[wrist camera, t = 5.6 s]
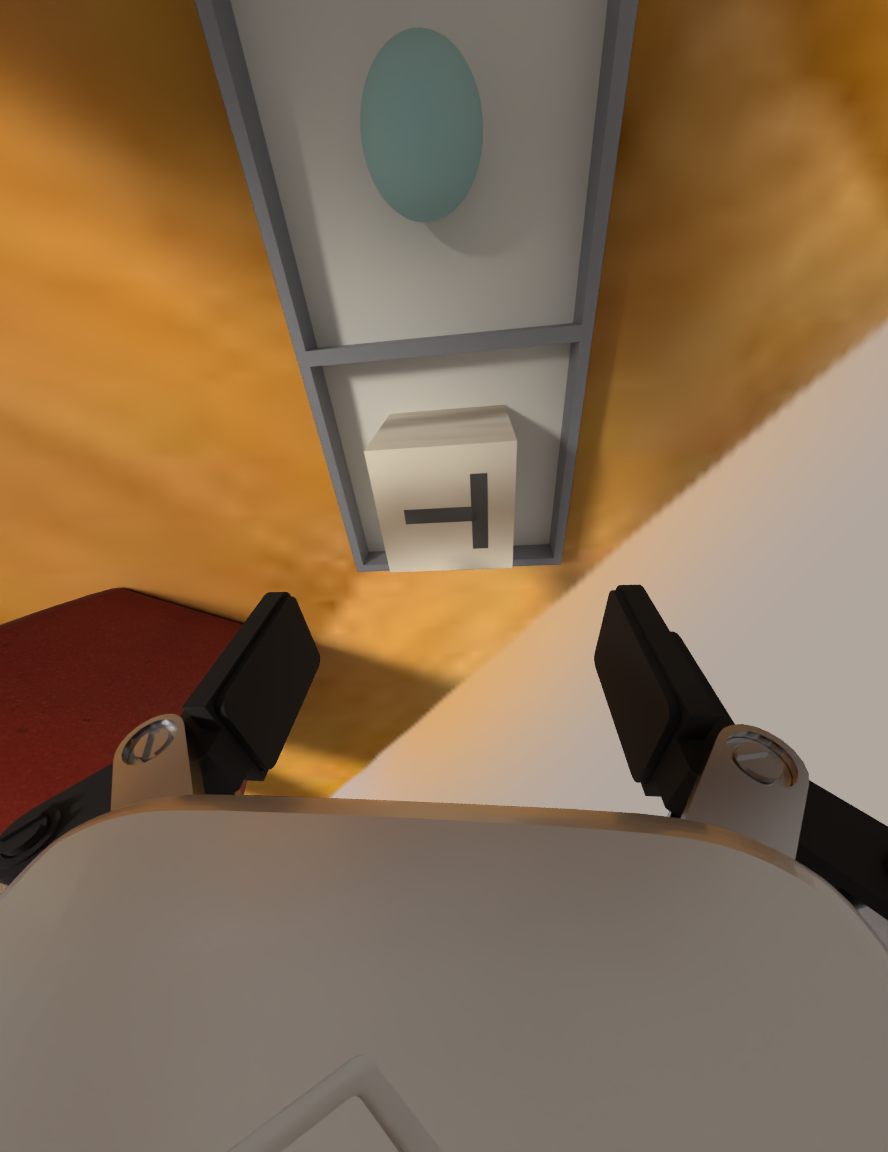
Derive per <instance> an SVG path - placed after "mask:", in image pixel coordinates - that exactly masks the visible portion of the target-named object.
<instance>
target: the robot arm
mask: <svg viewBox="0 0 888 1152" xmlns="http://www.w3.org/2000/svg"><path fill="white" fill-rule="evenodd" d="M594 661H595V667H596V670H597V673H598V676H599V679H600V682H601V685H602V688H603V691H604V694H605V697H606V700H607V703H608V706H609V709H610V712H611V715H612V718H613V721H614V724H615V727H616V730H617V733H618V736H619V739H620V742H621V745H622V748H623V751H624V753H625V757H626V760H627V763H628V766H629V769H630V772H631V775H632V777H633V779H634V781H635V782H641V784H642V787H643V790H644V793H645V795H646V796H660V797H662V800H663V803H664V805H665V808H667V809H668V810H669V813H668V816H667V817H664V816H655V815H646V814H637V813H622V812H607V811H592V810H577V809H559V808H539V807H518V806H497V805H477V804H455V803H432V802H409V801H386V800H364V799H339V798H313V797H287V796H260V795H241V791H240V787H241V785H242V783H243V781H244V779H245V780H252V781H264V779H265V777H266V774H267V772H268V770H269V769H272V768H273V767H274V766H275V764H276V762H277V760H278V758H279V755H280V753H281V751H282V749H283V746H284V744H285V742H286V740H287V737H288V735H289V733H290V731H291V728H292V726H293V724H294V721H295V719H296V717H297V715H298V712H299V710H300V708H301V706H302V703H303V701H304V699H305V697H306V694H307V692H308V690H309V688H310V685H311V683H312V681H313V678H314V676H315V674H316V672H317V669H318V667H319V664H320V655H319V652H318V650H317V648H316V645H315V643H314V640H313V638H312V636H311V633H310V631H309V629H308V626H307V624H306V622H305V619H304V617H303V614H302V612H301V610H300V607H299V605H298V603H297V600H296V599H295V598H294V597H291V595H290V594H289V593H288V592H269V593H267V594H266V595H265V596H264V597H263V598H262V600H261V601H260V602H259V604H258V605H257V606H256V608H255V609H254V610H253V612H252V613H251V614H250V616H249V617H248V619H247V620H246V621H245V623H244V624H243V625H242V627H241V628H240V629H239V631H238V632H237V633H236V635H235V636H234V637H233V639H232V640H231V641H230V643H229V644H228V645H227V647H226V648H225V650H224V651H223V652H222V654H221V655H220V656H219V658H218V659H217V660H216V662H215V663H214V664H213V666H212V667H211V668H210V670H209V671H208V672H207V674H206V675H205V677H204V678H203V679H202V681H201V682H200V683H199V685H198V686H197V687H196V689H195V690H194V691H193V693H192V694H191V695H190V697H189V698H188V699H187V701H186V702H185V703H184V705H183V706H182V708H183V709H184V711H183V713H182V714H181V715H180V717H179V716H178V715H176V714H164V715H159V716H156V717H154V718H151V719H149V720H147V721H146V722H144V723H142V724H141V725H139V726H138V727H136V728H135V729H134V730H133V731H131V732H130V733H129V734H128V735H127V736H126V737H125V738H124V740H123V741H122V742H121V743H120V745H119V747H118V748H117V750H116V752H115V755H114V759H113V763H111V764H110V765H108V766H106V767H104V768H103V769H101V770H99V771H98V772H96V773H94V774H92V775H91V776H89V777H87V778H85V779H84V780H82V781H80V782H78V783H77V784H75V785H73V786H71V787H70V788H68V789H66V790H64V791H63V792H61V793H59V794H57V795H56V796H54V797H52V798H50V799H49V800H47V801H45V802H43V803H42V804H40V805H38V806H36V807H35V808H33V809H31V810H30V811H28V812H27V813H25V814H24V815H22V816H21V817H19V818H18V819H17V820H16V821H15V822H13V823H12V824H11V825H10V826H9V827H8V828H6V829H5V831H4V832H3V833H2V834H1V835H0V1152H888V826H886V825H884V824H882V823H881V822H879V821H877V820H876V819H874V818H872V817H871V816H869V815H867V814H865V813H864V812H862V811H860V810H859V809H857V808H855V807H854V806H852V805H850V804H849V803H847V802H845V801H843V800H842V799H840V798H838V797H837V796H835V795H833V794H832V793H830V792H828V791H826V790H825V789H823V788H821V787H820V786H818V785H816V784H814V783H813V782H811V781H809V775H808V771H807V769H806V767H805V765H804V763H803V761H802V760H801V759H800V757H799V756H798V755H797V754H796V752H795V751H794V750H793V749H792V748H791V747H789V746H788V745H787V744H786V743H785V742H784V741H782V740H781V739H779V738H778V737H776V736H774V735H772V734H771V733H769V732H767V731H765V730H762V729H760V728H757V727H754V726H749V725H744V724H738V725H735V724H734V722H733V721H732V719H731V717H730V716H729V714H728V713H727V711H726V709H725V708H724V706H723V705H722V703H721V702H720V700H719V698H718V697H717V695H716V694H715V692H714V690H713V689H712V687H711V685H710V684H709V682H708V681H707V679H706V677H705V676H704V674H703V673H702V671H701V670H700V668H699V666H698V665H697V663H696V661H695V660H694V658H693V657H692V655H691V653H690V652H689V650H688V648H687V647H686V645H685V644H684V642H683V640H682V639H681V638H680V636H679V635H678V634H677V633H675V632H670V631H669V629H668V628H667V626H666V624H665V623H664V621H663V619H662V617H661V616H660V614H659V612H658V611H657V609H656V608H655V606H654V604H653V603H652V601H651V600H650V598H649V596H648V594H647V593H646V591H645V589H644V588H643V587H642V586H641V585H619V586H618V587H617V588H616V590H612V591H610V593H609V596H608V601H607V605H606V609H605V613H604V617H603V622H602V626H601V630H600V634H599V638H598V642H597V646H596V651H595V656H594Z"/></svg>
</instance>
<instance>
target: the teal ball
mask: <svg viewBox="0 0 888 1152" xmlns="http://www.w3.org/2000/svg"><path fill="white" fill-rule="evenodd" d="M360 131H361V140H362V147H363V152H364V157H365V160H366V164H367V167H368V170H369V173H370V175H371V178H372V180H373V182H374V184H375V186H376V188H377V189H378V191H379V193H380V194H381V196H382V197H383V198H384V200H385V201H386V202H387V203H388V205H389V206H391V207H392V208H393V209H394V210H395V211H396V212H397V213H399V214H400V215H402V216H404V217H405V218H407V219H410V220H413V221H416V222H433V221H437V220H439V219H442V218H444V217H445V216H447V215H449V214H450V213H451V212H452V211H453V210H455V209H456V208H457V207H458V205H459V204H460V203H461V202H462V201H463V199H464V198H465V196H466V195H467V193H468V191H469V189H470V188H471V186H472V183H473V181H474V178H475V176H476V172H477V169H478V166H479V162H480V157H481V151H482V143H483V117H482V108H481V101H480V97H479V92H478V88H477V85H476V82H475V79H474V76H473V74H472V72H471V70H470V68H469V66H468V64H467V62H466V60H465V59H464V57H463V55H462V54H461V52H460V51H459V50H458V49H457V47H456V46H455V45H454V44H453V43H452V42H451V41H450V40H449V39H448V38H447V37H445V36H443V35H442V34H440V33H439V32H436V31H434V30H431V29H427V28H421V27H418V28H410V29H406V30H403V31H401V32H399V33H397V34H396V35H394V36H393V37H392V38H391V39H389V40H388V41H387V42H386V43H385V45H384V46H383V47H382V48H381V49H380V51H379V52H378V54H377V55H376V57H375V59H374V61H373V63H372V65H371V67H370V69H369V72H368V75H367V78H366V81H365V85H364V89H363V93H362V100H361V109H360Z"/></svg>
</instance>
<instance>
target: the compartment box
mask: <svg viewBox="0 0 888 1152" xmlns="http://www.w3.org/2000/svg"><path fill="white" fill-rule="evenodd" d="M638 1H639V0H195V3H196V7H197V10H198V14H199V17H200V21H201V25H202V28H203V32H204V35H205V39H206V42H207V46H208V49H209V53H210V56H211V60H212V63H213V67H214V70H215V74H216V77H217V81H218V84H219V88H220V91H221V95H222V98H223V102H224V105H225V109H226V112H227V116H228V119H229V123H230V126H231V130H232V133H233V137H234V140H235V144H236V147H237V151H238V154H239V158H240V161H241V165H242V168H243V172H244V175H245V179H246V182H247V186H248V189H249V193H250V196H251V200H252V203H253V207H254V210H255V214H256V217H257V221H258V224H259V228H260V231H261V235H262V238H263V242H264V245H265V249H266V252H267V256H268V259H269V263H270V266H271V270H272V273H273V277H274V280H275V284H276V287H277V291H278V295H279V298H280V302H281V305H282V309H283V312H284V316H285V319H286V323H287V326H288V330H289V333H290V337H291V340H292V344H293V347H294V351H295V354H296V358H297V361H298V365H299V368H300V372H301V375H302V379H303V382H304V386H305V389H306V393H307V396H308V400H309V403H310V407H311V410H312V414H313V417H314V421H315V424H316V428H317V431H318V435H319V438H320V442H321V445H322V449H323V452H324V456H325V459H326V463H327V466H328V470H329V473H330V477H331V480H332V484H333V487H334V491H335V494H336V498H337V501H338V505H339V508H340V512H341V515H342V519H343V522H344V526H345V529H346V533H347V536H348V540H349V543H350V547H351V550H352V554H353V557H354V561H355V565H356V568H357V572H367V571H390V569H389V565H388V560H387V555H386V551H385V546H384V542H383V537H382V532H381V528H380V523H379V519H378V514H377V509H376V505H375V500H374V496H373V491H372V486H371V482H370V477H369V473H368V468H367V463H366V459H365V454H364V450H365V449H366V447H367V446H368V445H369V443H370V442H371V440H372V439H373V437H374V436H375V434H376V433H377V432H378V430H379V429H380V427H381V426H382V424H383V423H384V422H385V420H386V419H387V417H388V416H389V414H391V413H404V412H417V411H430V410H443V409H455V408H468V407H481V406H494V405H505V407H506V410H507V413H508V416H509V419H510V421H511V424H512V427H513V430H514V433H515V436H516V439H517V459H516V486H515V513H514V540H513V566H532V565H560V564H561V562H562V555H563V547H564V540H565V533H566V525H567V518H568V511H569V504H570V496H571V489H572V482H573V474H574V467H575V460H576V453H577V445H578V438H579V431H580V423H581V416H582V409H583V402H584V394H585V387H586V380H587V372H588V365H589V358H590V351H591V343H592V336H593V329H594V321H595V314H596V307H597V299H598V292H599V285H600V278H601V270H602V263H603V256H604V248H605V241H606V234H607V227H608V219H609V212H610V205H611V197H612V190H613V183H614V176H615V168H616V161H617V154H618V146H619V139H620V132H621V125H622V117H623V110H624V103H625V95H626V88H627V81H628V74H629V66H630V59H631V52H632V44H633V37H634V30H635V22H636V15H637V8H638ZM418 27H421V28H427V29H431V30H434V31H436V32H439V33H440V34H442V35H443V36H445V37H447V38H448V39H449V40H450V41H451V42H452V43H453V44H454V45H455V46H456V47H457V49H458V50H459V51H460V52H461V54H462V55H463V57H464V59H465V60H466V62H467V64H468V66H469V68H470V70H471V72H472V74H473V76H474V79H475V82H476V85H477V88H478V92H479V97H480V101H481V108H482V117H483V143H482V151H481V157H480V162H479V166H478V169H477V172H476V176H475V178H474V181H473V183H472V186H471V188H470V189H469V191H468V193H467V195H466V196H465V198H464V199H463V201H462V202H461V203H460V204H459V205H458V207H457V208H456V209H455V210H453V211H452V212H451V213H450V214H449V215H447V216H445V217H444V218H442V219H439V220H437V221H433V222H416V221H413V220H410V219H407V218H405V217H404V216H402V215H400V214H399V213H397V212H396V211H395V210H394V209H393V208H392V207H391V206H389V205H388V203H387V202H386V201H385V200H384V198H383V197H382V196H381V194H380V193H379V191H378V189H377V188H376V186H375V184H374V182H373V180H372V178H371V175H370V173H369V170H368V167H367V164H366V160H365V157H364V152H363V147H362V140H361V131H360V109H361V100H362V93H363V89H364V85H365V81H366V78H367V75H368V72H369V69H370V67H371V65H372V63H373V61H374V59H375V57H376V55H377V54H378V52H379V51H380V49H381V48H382V47H383V46H384V45H385V43H386V42H387V41H388V40H389V39H391V38H392V37H393V36H394V35H396V34H397V33H399V32H401V31H403V30H406V29H410V28H418Z"/></svg>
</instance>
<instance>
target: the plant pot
mask: <svg viewBox="0 0 888 1152" xmlns="http://www.w3.org/2000/svg"><path fill="white" fill-rule="evenodd" d="M241 627H242V624H239V623H236V622H233V621H229V620H226V619H223V618H219V617H216V616H212V615H209V614H206V613H202V612H199V611H195V610H192V609H189V608H185V607H182V606H179V605H176V604H172V603H169V602H166V601H162V600H159V599H156V598H152V597H149V596H145V595H142V594H139V593H135V592H132V591H129V590H125V589H121V588H113V589H109V590H105V591H102V592H98V593H94V594H91V595H87V596H84V597H82V598H79V599H76V600H72V601H69V602H66V603H63V604H60V605H56V606H53V607H50V608H47V609H44V610H41V611H38V612H36V613H33V614H30V615H27V616H24V617H21V618H19V619H16V620H13V621H10V622H7V623H4V624H2V625H0V835H1V834H2V833H3V832H4V831H5V829H6V828H8V827H9V826H10V825H11V824H12V823H13V822H15V821H16V820H17V819H18V818H19V817H21V816H22V815H24V814H25V813H27V812H28V811H30V810H31V809H33V808H35V807H36V806H38V805H40V804H42V803H43V802H45V801H47V800H49V799H50V798H52V797H54V796H56V795H57V794H59V793H61V792H63V791H64V790H66V789H68V788H70V787H71V786H73V785H75V784H77V783H78V782H80V781H82V780H84V779H85V778H87V777H89V776H91V775H92V774H94V773H96V772H98V771H99V770H101V769H103V768H104V767H106V766H108V765H110V764H111V763H113V759H114V755H115V752H116V750H117V748H118V747H119V745H120V743H121V742H122V741H123V740H124V738H125V737H126V736H127V735H128V734H129V733H130V732H131V731H133V730H134V729H135V728H136V727H138V726H139V725H141V724H142V723H144V722H146V721H147V720H149V719H151V718H154V717H156V716H159V715H164V714H176V715H178V716H179V717H180V715H181V714H182V713H183V711H184V709H183V708H182V706H183V705H184V703H185V702H186V701H187V699H188V698H189V697H190V695H191V694H192V693H193V691H194V690H195V689H196V687H197V686H198V685H199V683H200V682H201V681H202V679H203V678H204V677H205V675H206V674H207V672H208V671H209V670H210V668H211V667H212V666H213V664H214V663H215V662H216V660H217V659H218V658H219V656H220V655H221V654H222V652H223V651H224V650H225V648H226V647H227V645H228V644H229V643H230V641H231V640H232V639H233V637H234V636H235V635H236V633H237V632H238V631H239V629H240V628H241ZM246 783H247V780H245V779H244V781H243V783H242V785H241V787H240V791H241V795H244V791H245V787H246Z"/></svg>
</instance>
